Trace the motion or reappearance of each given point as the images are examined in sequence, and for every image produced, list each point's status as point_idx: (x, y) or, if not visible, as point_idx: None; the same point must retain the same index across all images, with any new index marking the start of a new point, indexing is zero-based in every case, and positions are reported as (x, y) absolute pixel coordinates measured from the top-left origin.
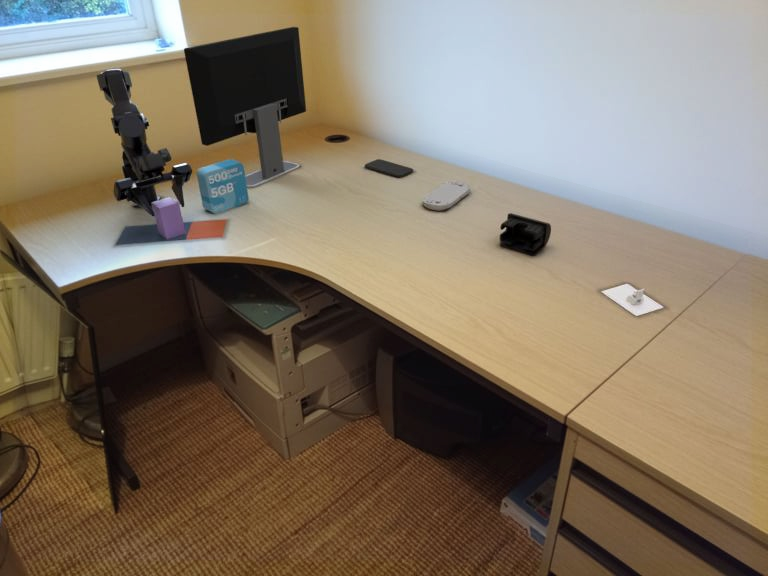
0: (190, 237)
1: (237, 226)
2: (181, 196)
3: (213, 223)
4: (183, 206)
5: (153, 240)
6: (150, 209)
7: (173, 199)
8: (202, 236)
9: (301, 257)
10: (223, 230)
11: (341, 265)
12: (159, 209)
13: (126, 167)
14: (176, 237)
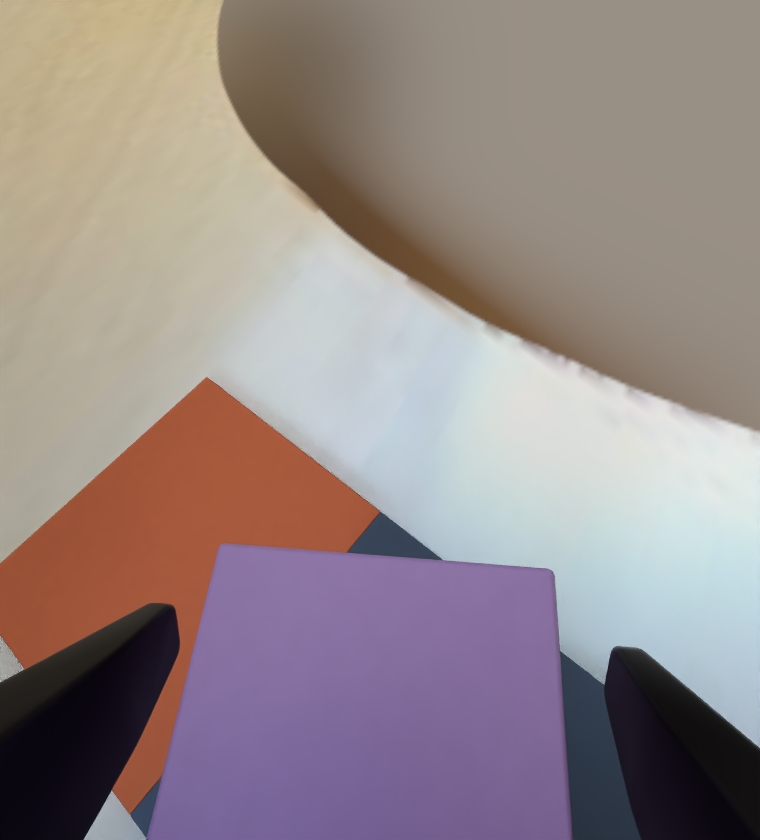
0: (336, 519)
1: (37, 451)
2: (37, 681)
3: (74, 605)
4: (170, 619)
5: (586, 713)
6: (688, 705)
7: (178, 754)
8: (274, 470)
9: (167, 83)
10: (134, 445)
11: (147, 13)
12: (550, 573)
13: None
14: None
